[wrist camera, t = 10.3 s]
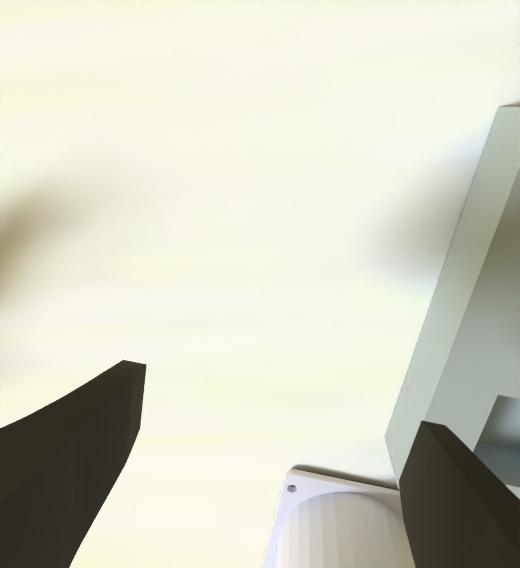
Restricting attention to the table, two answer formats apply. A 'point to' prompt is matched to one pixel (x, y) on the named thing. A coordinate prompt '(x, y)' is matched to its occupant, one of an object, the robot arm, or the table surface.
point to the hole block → (474, 323)
